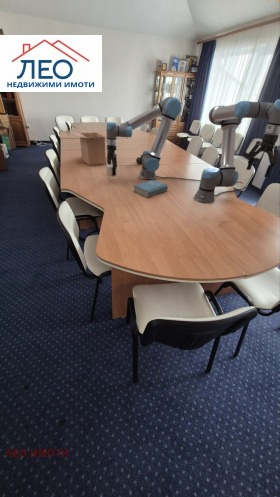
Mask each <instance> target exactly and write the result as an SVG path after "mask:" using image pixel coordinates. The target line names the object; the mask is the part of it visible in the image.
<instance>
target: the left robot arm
mask: <svg viewBox="0 0 280 497" xmlns="http://www.w3.org/2000/svg"><path fill="white" fill-rule="evenodd" d="M182 106H183V105H182V101H181V100H180V99H179V98H178V97H175V96H168V97H166V98H164V99H163V100H161V101H159V102H158V103H156V105H155V106H153V107H151V108H150V109H147V110H145V111H144V112H142V113H140V114H138V115H136V116H135V117H133V118H131V119H129V120H127V121H125V122H122V123H120V124H119V125H117V122H113V121H109V122H108V121H107V122H106V133H107V137H106V139H105V142H106V153H107V154H106V163H107V165H109V164H112V165H113V167H112V175H113V176H114V175H116V167H117V168H118V162H117V154H116V151H117V143H118V142H117V139H118V138H127V139H128V138H132V136H133V131H134V130H136V129H138V128H139V127H142V126H143V125H145V124H148V123H149V122H152V121H153V120H155V119H157V118H159V117H161V120H160V123H159V125H158V129H157V131H156V134H155V137H154V140H153V143H152V145H151V148H150V150H143V151H142V155H143V159H142V164H141V169H140V172H139V178H140V179H142V180H146V181H150V180H156V178H160V179H176V180H177V179H178V180H185V181H196V182H200V181H201V179H192V178H191V179H190V178H182V177H173V176H170V177H169V176H168V177H167V176H165V177H162V176H158V175H157V174H156V171H158V170H159V168H160V161H161V159H162V155H161V154H162V151H163V148H164V147H165V143H166V140H167V138H168V137H169V133H170V131H171V128H172V126H173V123H175V122H176V121H177V118H178V116H179V115H180V114H181V112H182V109H183V108H182ZM117 137H118V138H117ZM237 183H240V184H242V185H243V182H242V181H237V182H236V184H237Z"/></svg>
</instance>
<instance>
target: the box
mask: <svg viewBox="0 0 280 497" xmlns="http://www.w3.org/2000/svg"><path fill="white" fill-rule="evenodd" d="M70 133H71V134H72V135H74V136H75V137H77V138H79V144H80V153H81V160H83V162H85V163H86V165H87V166H95V165H97V166H98V165H107V164H106V163H107V156H106V139H107V132H105V131H98V132H96V131H95V130H92V129H91V130H77V132H76V131H70Z"/></svg>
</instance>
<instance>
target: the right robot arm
mask: <svg viewBox="0 0 280 497" xmlns="http://www.w3.org/2000/svg"><path fill="white" fill-rule="evenodd" d="M243 119H263V120H268V121H267V124H266V128H265V130H264V133H263V135H262V138H261V140H256V141H255V144H254V146H253V147H252V148H251V150H250V151H249V152H248V153H247V154H246V157H248V161H247V164H248V165H247V166H246V170H247V171H250V170H252V166H253V164H254V161H255V157H256V156H258V155H259V154H260V153H261V152H263V153H265V154H266V155H267V156H268V161H269V165H268V166H267V168H266V171H265V173H264V176H263V177H264V178H269V176H270V174H271V172H272V171H273V170H274V167H276V166H279V165H280V162H279V161H280V145H276V143H277V142H278V139H279V138H280V137H279V135H280V98H278V99H276V100H275V102H269V101H263V102H262V101H250V100H249V101H248V100H240V101H238V102H237V103H234V104H230V105H215V106H213V107H212V108H211V109H210V110H209V112H208V120H209V122H210V123H211V124H212V125H215V126H220V130H221V131H222V142H221V157H220V158H221V159H220V166H219V168H217V167H206V168H204V169H203V170H202V173H201V176H200V180H201V181H199V186H198V189H197V191H196V193H195V194H194V197H193V198H194V200H195V201H196V202H198V203H202V204H212V203H214V202H215V198H216V197H217V196H220V195H221V194H224V193H232V192H239V191H242V190H245V189H247V187H246V186H244V187H243V188H239V189H234V190H233V189H232V190H227V191H221V192H219V193H217V194H215V190H216V188H231V187H234V186H235V185H236V184H237V183H236V182H238V180H239V172H238V170H236V166H235V165H234V164H235V163H234V162H235V149H236V148H235V147H236V131H237V129H238V128H239V126H240V125H241V124H242V122H243V121H242V120H243Z"/></svg>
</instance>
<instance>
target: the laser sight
mask: <svg viewBox="0 0 280 497" xmlns="http://www.w3.org/2000/svg"><path fill="white" fill-rule="evenodd" d="M142 159H143V154H140V156H137V157H136V159H135V162H136V164H139V165H142Z"/></svg>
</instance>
